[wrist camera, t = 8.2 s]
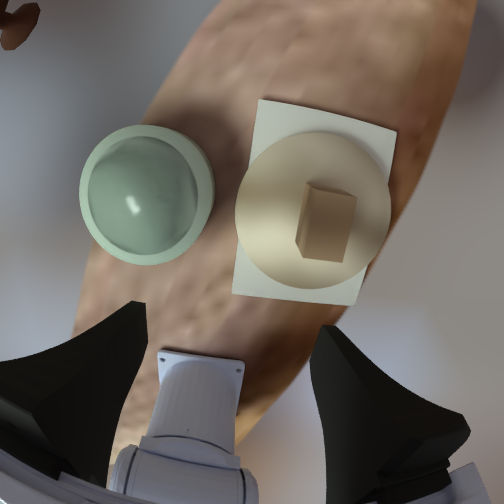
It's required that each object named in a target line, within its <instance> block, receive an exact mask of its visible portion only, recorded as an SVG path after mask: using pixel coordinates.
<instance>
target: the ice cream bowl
mask: <svg viewBox="0 0 504 504" xmlns="http://www.w3.org/2000/svg"><path fill="white" fill-rule="evenodd" d="M8 1H9V0H0V29H1V30H3V31H2V34H1V38H0V42H1V45H2V47H3V49H4V50H14V49H16V48H17V47H18V46H19V45H21V44H22V43H23V42H24V41H26V39H27V37H28V36H29V35H30V33H31V32H32V30H33V29H34V27H35V26H36V24H37V21H38V17H39V14H40V11H41V10H40V8H39V6H38V4H37V3H28V4H23V5H22V6H21V7H20V8H19V9H17V10H16V11H15V12H14V13H13V14H11V13H8V12H5V10H6V7H7V4H8Z"/></svg>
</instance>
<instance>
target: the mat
mask: <svg viewBox="0 0 504 504" xmlns="http://www.w3.org/2000/svg"><path fill="white" fill-rule="evenodd" d="M311 132H316V133H328V134H334V135H337V136H340V137H343V138H345V139H348V140H350V141H352V142H354V143H355V144H357V145H358V146H360V147H361V148H362V149H364V150H365V151H366V152H367V153H368V154H369V155H370V156H371V157H372V158H373V159H374V160H375V162H376V163H377V165H378V166H379V168H380V169H381V171H382V173H383V175H384V177H385V179H386V182H387V185H388V181H389V176H390V170H391V165H392V159H393V154H394V148H395V141H396V135H397V132H395V131H392V130H389V129H386V128H383V127H380V126H376V125H373V124H370V123H367V122H363V121H360V120H356V119H352V118H349V117H345V116H341V115H337V114H333V113H329V112H325V111H320V110H316V109H311V108H307V107H302V106H297V105H291V104H286V103H280V102H274V101H268V100H261V99H259V101H258V108H257V114H256V121H255V127H254V134H253V141H252V147H251V154H250V161H249V167H250V166H251V164H252V163H253V161H254V160H255V159H256V158H257V157H258V156H259V155H260V154H261V153H262V152H263V151H265V150H266V149H267V148H268V147H270V146H271V145H273V144H275V143H276V142H278V141H280V140H283V139H285V138H287V137H290V136H294V135H298V134H303V133H311ZM366 269H367V266H366V267H365V268H364V269H363V270H361V271H360V272H359V273H358V274H356V275H355V276H353V277H352V278H350V279H348V280H346V281H344V282H342V283H340V284H337V285H334V286H331V287H326V288H321V289H300V288H294V287H290V286H287V285H284V284H281V283H279V282H277V281H275V280H273V279H271V278H270V277H268V276H267V275H265V274H264V273H263V272H262V271H260V270H259V269H258V268H257V267H256V266H255V265H254V264H253V263H252V261H251V260H250V258H249V257H248V256H247V254H246V252H245V251H244V249H243V247H242V245H241V242H240V239H238V247H237V254H236V262H235V269H234V277H233V285H232V293H231V294H239V295H247V296H255V297H264V298H273V299H282V300H292V301H302V302H313V303H324V304H335V305H348V306H355V303H356V300H357V297H358V294H359V291H360V288H361V285H362V282H363V278H364V275H365V272H366Z"/></svg>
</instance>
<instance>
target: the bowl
mask: <svg viewBox="0 0 504 504" xmlns="http://www.w3.org/2000/svg"><path fill="white" fill-rule="evenodd" d="M215 189H216V187H215V178H214V173H213V169H212V167H211V164H210V162H209V160H208V158H207V156H206V154H205V153H204V152H203V150H202V149H201V148H200V147H199V145H198V144H197V143H196V142H194V141H193V140H192V139H191V138H190V137H188V136H186V135H185V134H183V133H181V132H178V131H176V130H173V129H169V128H165V127H159V126H154V125H134V126H129V127H125V128H122V129H120V130H117V131H116V132H114V133H112V134H110V135H109V136H108V137H106V138H105V139H104V140H103V141H101V142H100V143H99V144H98V145H97V146H96V148H95V149H94V150H93V151H92V153H91V155H90V156H89V158H88V160H87V162H86V164H85V166H84V169H83V172H82V175H81V181H80V190H79V198H80V206H81V211H82V215H83V218H84V221H85V223H86V225H87V227H88V229H89V231H90V233H91V234H92V236H93V237H94V238H95V240H96V241H97V242H98V243H99V244H100V245H101V246H102V247H103V248H104V249H105V250H106V251H107V252H109V253H110V254H112V255H113V256H115V257H117V258H119V259H121V260H123V261H126V262H129V263H132V264H137V265H156V264H161V263H164V262H167V261H170V260H172V259H174V258H176V257H178V256H179V255H181V254H182V253H184V252H185V251H186V250H187V249H188V248H189V247H191V245H192V244H193V243H194V242H195V241H196V239H197V238H198V236H199V235H200V233H201V231H202V229H203V228H204V226H205V224H206V222H207V220H208V218H209V216H210V214H211V211H212V208H213V205H214V200H215Z"/></svg>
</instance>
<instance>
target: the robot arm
mask: <svg viewBox="0 0 504 504" xmlns="http://www.w3.org/2000/svg"><path fill="white" fill-rule="evenodd" d="M147 344H148V333H147V320H146V303H142V302H136V301H131V302H129V303H127V304H126V305H124V306H123V307H122V308H120V309H119V310H117V311H116V312H114V313H113V314H112V315H110V316H109V317H107V318H106V319H104V320H103V321H101V322H100V323H98V324H97V325H95V326H93V327H92V328H90V329H88V330H87V331H85V332H84V333H82V334H80V335H78V336H77V337H75V338H73V339H71V340H69V341H67V342H65V343H63V344H60V345H58V346H56V347H53V348H50V349H48V350H45V351H42V352H40V353H37V354H33V355H30V356H27V357H22V358H18V359H13V360H8V361H1V362H0V501H1V502H3V503H4V504H258V502H259V493H258V485H257V482H256V479H255V477H254V476H253V475H252V474H251V472H250V471H249V470H248V469H246V468H240V457H239V456H235V455H234V446H235V417H236V412H237V407H238V402H239V396H240V391H241V386H242V380H243V375H244V370H245V363H244V362H243V361H239V360H230V359H222V358H214V357H206V356H199V355H192V354H186V353H180V352H174V351H168V350H159V351H158V354H157V357H158V370H159V381H160V390H159V393H158V396H157V399H156V403H155V406H154V409H153V413H152V416H151V420H150V423H149V427H148V430H147V434H146V436H142V438H141V441H140V445H139V448H138V446H136V445H132V444H130V445H129V446H128V447H126V448H123V449H122V450H121V451H120V453H119V455H118V457H117V459H116V462H115V465H114V468H113V472H112V476H111V481H110V488H109V490H108V489H106V483H107V475H108V468H109V461H110V456H111V451H112V445H113V441H114V437H115V432H116V428H117V424H118V421H119V417H120V414H121V410H122V407H123V405H124V402H125V400H126V397H127V395H128V393H129V390H130V388H131V386H132V384H133V381H134V379H135V377H136V375H137V372H138V370H139V368H140V366H141V363H142V361H143V358H144V354H145V351H146V348H147ZM162 358H164V359H162ZM309 362H310V373H311V380H312V386H313V390H314V394H315V398H316V402H317V406H318V411H319V414H320V418H321V423H322V428H323V435H324V444H325V455H326V456H325V457H326V485H327V489H326V491H327V492H326V504H491V500H490V498H489V496H488V493H487V491H486V488H485V486H484V483H483V481H482V479H481V477H480V474H479V472H478V470H477V468H476V465H475V463H474V462H471V463H469V464H467V465H465V466H462V467H460V468H458V469H456V470H454V471H452V472H451V473H448V471H447V469H446V468H448V467H449V466H450V462H449V460H448V458H449V457H450V456H451V455H452V454H453V453H454V452H456V451H457V450H458V449H459V448H460V447H461V446H462V445H463V444H464V443H465V441H466V440H467V439H468V437H469V435H470V432H471V430H470V428H469V426H468V424H467V422H466V420H465V418H464V416H463V415H462V414H460V413H457V412H454V411H451V410H448V409H446V408H443V407H440V406H438V405H436V404H434V403H432V402H429V401H427V400H425V399H424V398H421V397H420V396H418V395H416V394H415V393H413V392H411V391H410V390H408V389H406V388H405V387H403V386H402V385H400V384H399V383H398V382H396V381H395V380H393V379H392V378H391V377H389V376H388V375H387V374H386V373H384V372H383V371H382V370H381V369H380V368H378V367H377V366H376V365H375V364H374V363H373V362H372V361H371V360H370V359H369V358H367V357H366V356H365V355H364V354H363V353H362V352H361V351H360V350H359V349H358V348H357V347H356V346H355V345H354V344H353V343H352V342H351V340H350V339H349V338H348V337H347V336H346V335H345V334H344V333H343V332H342V331H341V330H339V328H338V327H336V326H331V325H322V326H321V329H320V332H319V335H318V338H317V341H316V344H315V347H314V349H313V352H312V355H311V358H310V361H309ZM237 369H241V370H237Z"/></svg>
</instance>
